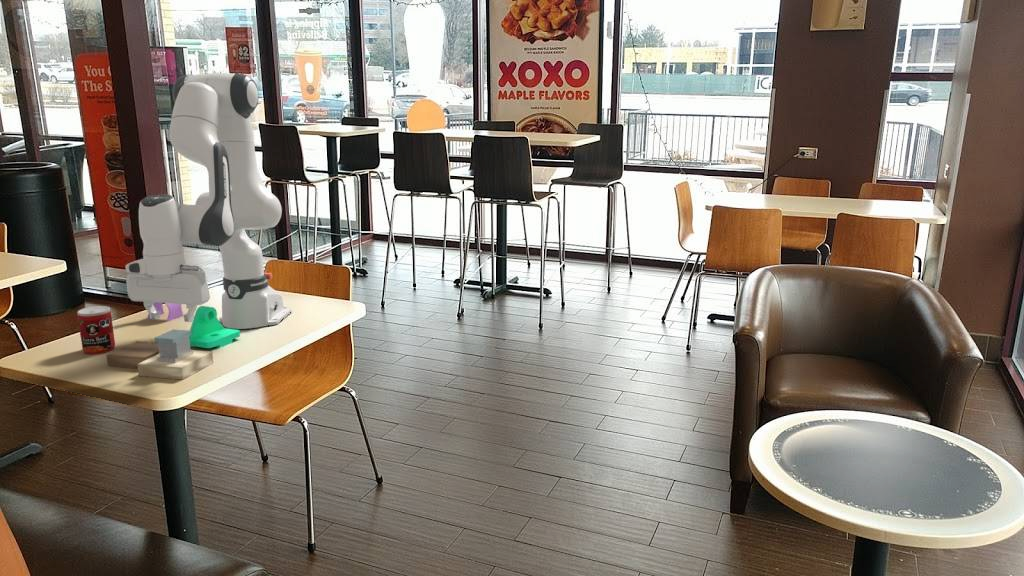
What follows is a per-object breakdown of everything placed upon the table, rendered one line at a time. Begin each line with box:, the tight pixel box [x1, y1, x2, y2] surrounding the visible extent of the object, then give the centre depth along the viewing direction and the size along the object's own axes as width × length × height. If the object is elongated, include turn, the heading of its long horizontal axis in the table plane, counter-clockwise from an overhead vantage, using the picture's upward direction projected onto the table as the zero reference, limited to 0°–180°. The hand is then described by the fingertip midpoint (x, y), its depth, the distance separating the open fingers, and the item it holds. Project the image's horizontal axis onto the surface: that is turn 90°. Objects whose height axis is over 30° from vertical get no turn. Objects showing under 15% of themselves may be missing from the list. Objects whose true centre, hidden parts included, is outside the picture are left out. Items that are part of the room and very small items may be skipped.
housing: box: [154, 329, 194, 363], centre depth 187 cm, size 5×7×6 cm
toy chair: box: [146, 302, 184, 322], centre depth 232 cm, size 8×9×15 cm
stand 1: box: [105, 340, 159, 369], centre depth 195 cm, size 11×11×3 cm
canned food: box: [76, 305, 116, 355], centre depth 202 cm, size 8×8×11 cm
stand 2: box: [137, 349, 214, 381], centre depth 188 cm, size 12×12×3 cm
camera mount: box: [189, 305, 241, 349], centre depth 207 cm, size 12×8×10 cm, turn 157°
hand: (172, 319), depth 186 cm, fingers open, 8 cm apart
